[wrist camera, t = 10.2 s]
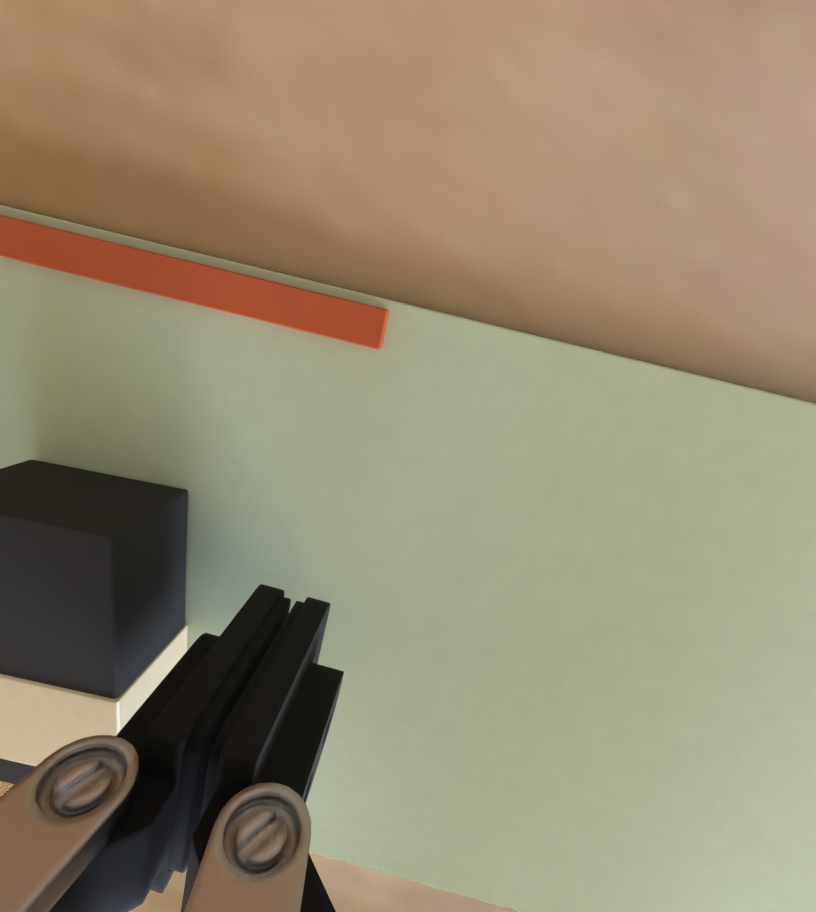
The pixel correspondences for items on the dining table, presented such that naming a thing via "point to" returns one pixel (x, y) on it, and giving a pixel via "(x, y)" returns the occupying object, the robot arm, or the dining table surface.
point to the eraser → (84, 604)
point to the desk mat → (465, 564)
